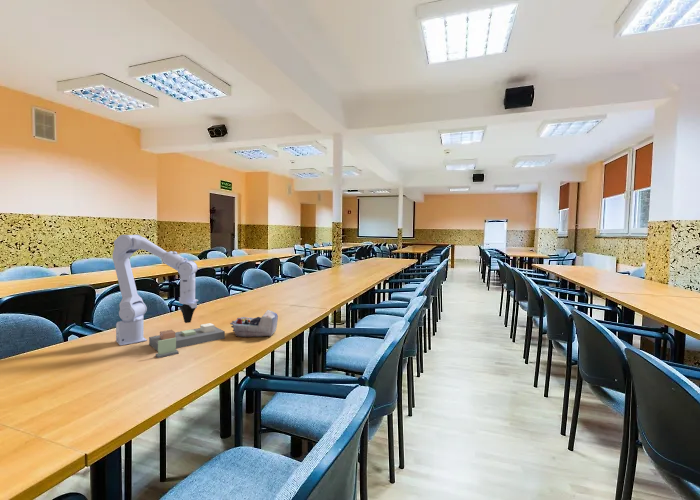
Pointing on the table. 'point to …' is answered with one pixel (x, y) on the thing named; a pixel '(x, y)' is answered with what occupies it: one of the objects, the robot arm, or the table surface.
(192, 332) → the sage block
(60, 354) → the table surface
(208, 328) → the cream block
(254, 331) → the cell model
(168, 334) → the terracotta block
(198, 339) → the button board
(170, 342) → the card
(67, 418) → the table surface
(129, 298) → the robot arm
